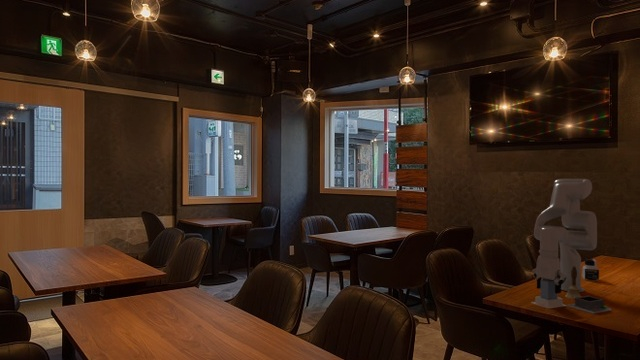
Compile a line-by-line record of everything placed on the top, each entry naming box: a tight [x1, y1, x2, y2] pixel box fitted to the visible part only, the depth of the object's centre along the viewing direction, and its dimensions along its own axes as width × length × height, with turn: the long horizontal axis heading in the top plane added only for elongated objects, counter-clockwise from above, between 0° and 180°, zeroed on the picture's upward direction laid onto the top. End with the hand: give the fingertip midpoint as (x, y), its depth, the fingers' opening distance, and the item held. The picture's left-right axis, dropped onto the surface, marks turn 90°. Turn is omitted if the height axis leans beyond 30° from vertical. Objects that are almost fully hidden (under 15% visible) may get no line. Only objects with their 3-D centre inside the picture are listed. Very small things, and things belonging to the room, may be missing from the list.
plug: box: [540, 278, 558, 300], centre depth 200 cm, size 4×6×12 cm, turn 112°
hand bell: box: [564, 267, 582, 300], centre depth 212 cm, size 8×8×16 cm
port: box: [567, 295, 612, 314], centre depth 193 cm, size 12×12×5 cm
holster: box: [530, 295, 568, 309], centre depth 200 cm, size 10×12×4 cm
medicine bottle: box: [582, 258, 600, 282], centre depth 253 cm, size 7×7×12 cm
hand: (548, 290), depth 199 cm, fingers open, 9 cm apart
